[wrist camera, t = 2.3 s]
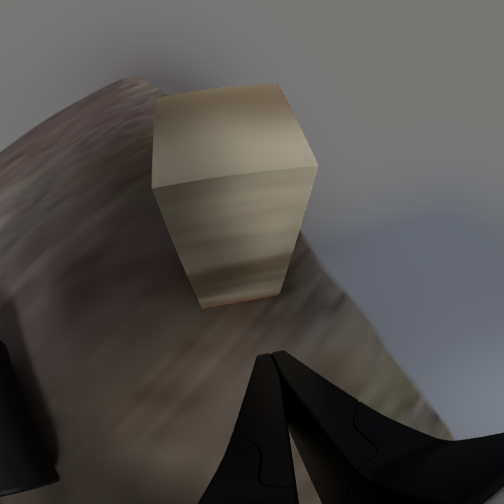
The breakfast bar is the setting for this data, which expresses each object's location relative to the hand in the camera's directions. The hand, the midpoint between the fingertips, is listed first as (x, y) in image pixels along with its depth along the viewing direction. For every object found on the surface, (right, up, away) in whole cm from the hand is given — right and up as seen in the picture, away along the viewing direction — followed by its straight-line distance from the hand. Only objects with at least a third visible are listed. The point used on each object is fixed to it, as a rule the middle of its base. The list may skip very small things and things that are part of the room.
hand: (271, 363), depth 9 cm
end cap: (-18, -9, +5) cm, 20 cm away
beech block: (-2, +2, +11) cm, 12 cm away
